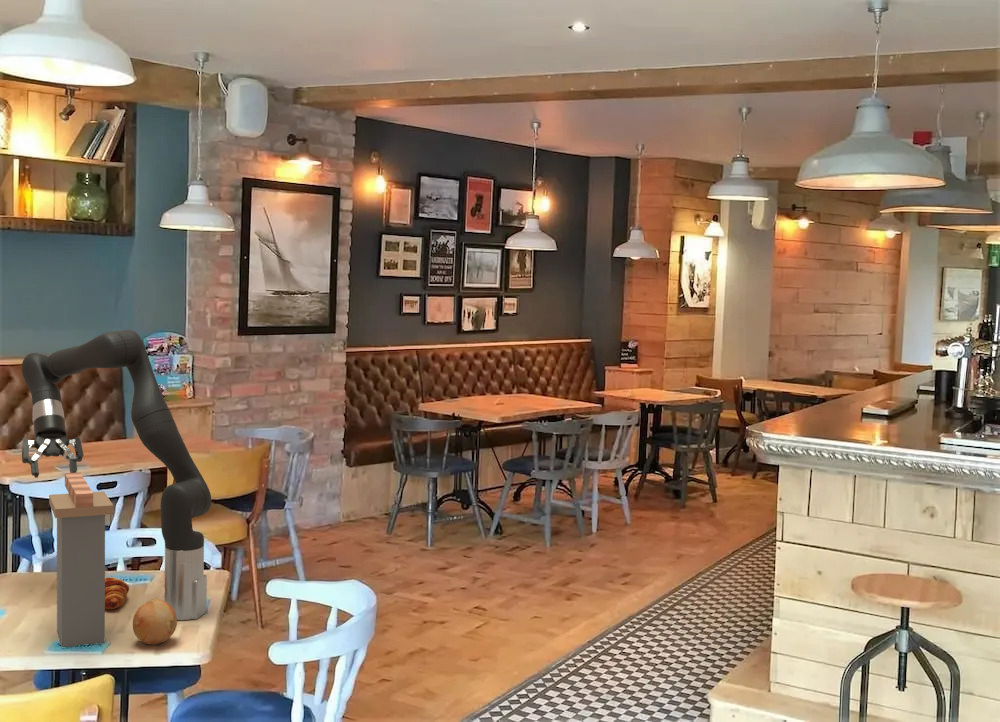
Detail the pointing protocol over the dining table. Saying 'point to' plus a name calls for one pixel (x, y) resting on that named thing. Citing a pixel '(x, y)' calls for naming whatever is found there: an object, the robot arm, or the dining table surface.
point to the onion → (154, 622)
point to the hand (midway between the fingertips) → (55, 475)
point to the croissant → (115, 592)
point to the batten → (78, 490)
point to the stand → (80, 569)
